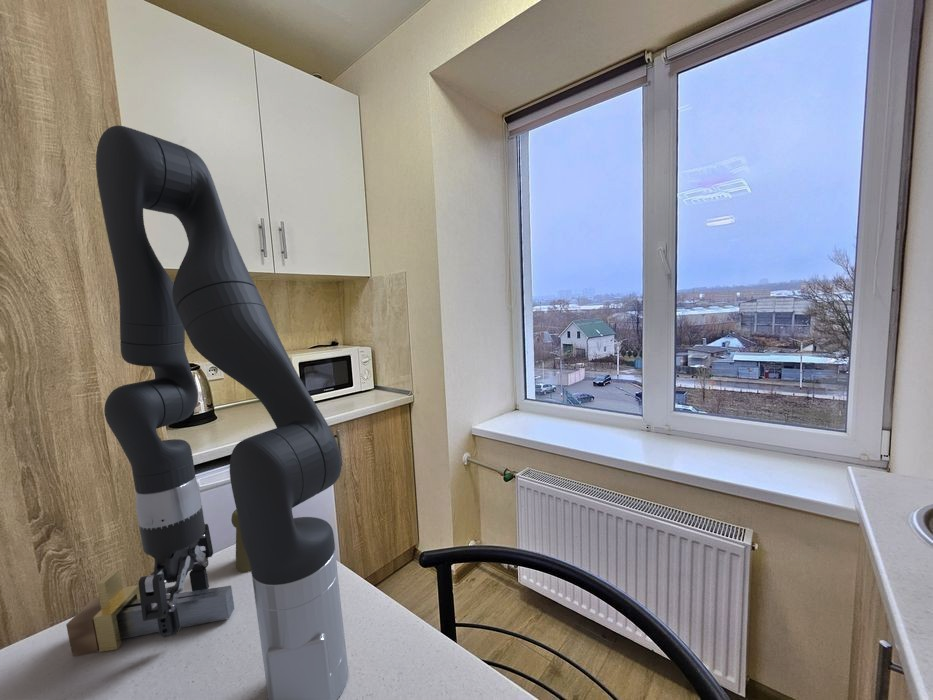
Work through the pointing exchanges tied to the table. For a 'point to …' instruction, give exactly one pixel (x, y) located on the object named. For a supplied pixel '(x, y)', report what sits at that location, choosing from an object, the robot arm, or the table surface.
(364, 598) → the table surface
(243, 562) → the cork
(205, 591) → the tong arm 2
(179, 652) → the table surface
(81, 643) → the block
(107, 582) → the collar
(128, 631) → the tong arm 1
